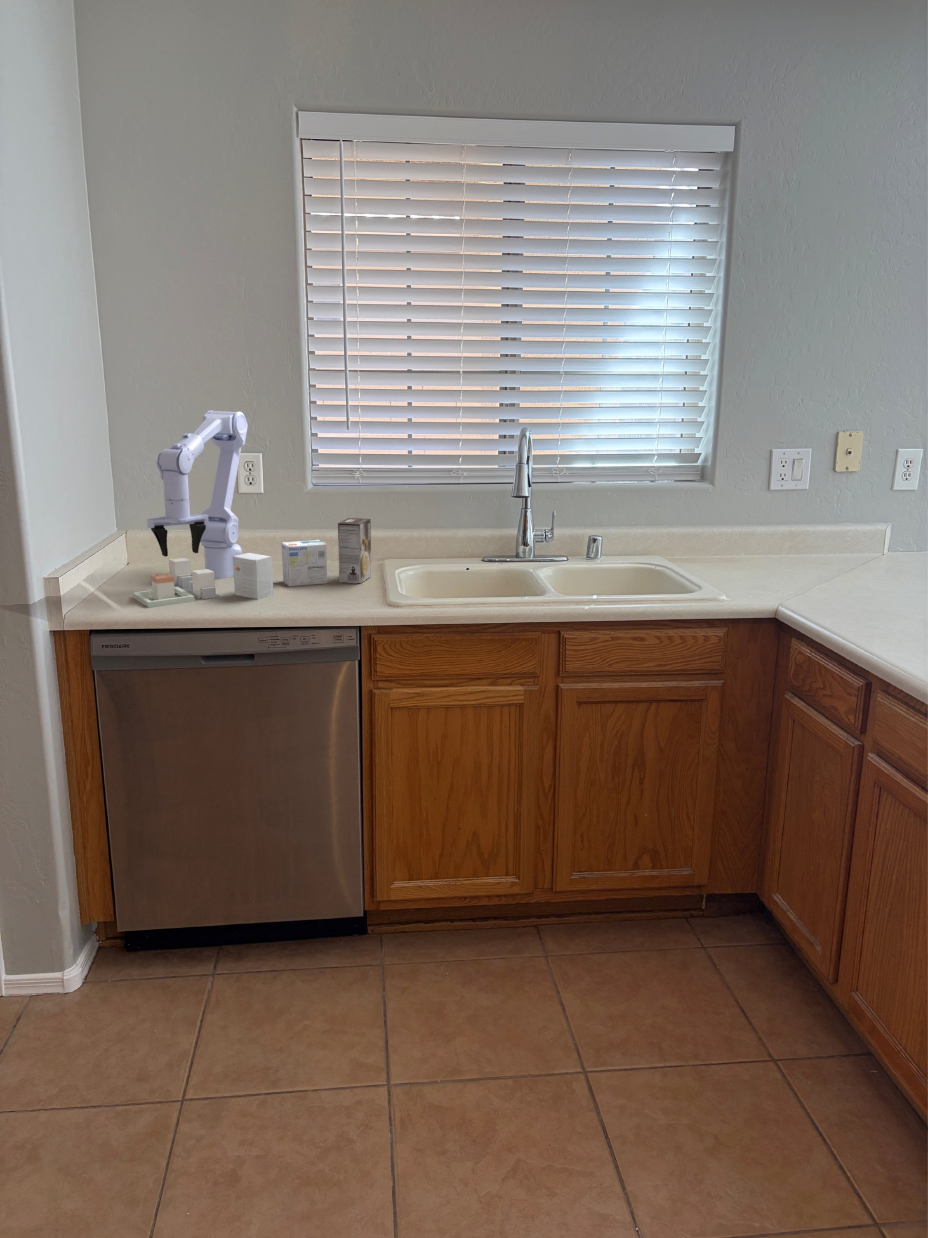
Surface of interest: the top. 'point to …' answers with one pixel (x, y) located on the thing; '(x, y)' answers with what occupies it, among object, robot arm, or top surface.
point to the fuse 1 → (179, 567)
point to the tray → (183, 599)
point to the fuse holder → (187, 585)
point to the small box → (253, 575)
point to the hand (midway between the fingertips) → (180, 554)
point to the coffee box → (354, 550)
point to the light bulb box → (304, 562)
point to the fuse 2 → (202, 580)
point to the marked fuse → (163, 586)
